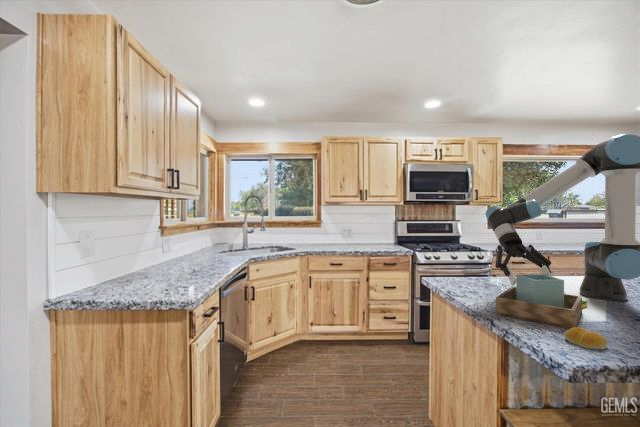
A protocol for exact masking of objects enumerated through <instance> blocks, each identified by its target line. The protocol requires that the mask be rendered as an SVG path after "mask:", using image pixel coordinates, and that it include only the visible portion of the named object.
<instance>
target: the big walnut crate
mask: <svg viewBox="0 0 640 427" xmlns="http://www.w3.org/2000/svg"><path fill="white" fill-rule="evenodd" d="M582 300H583V295H576V294H575V295H574V294H569V293H568V294H567V293H564V308H561V307H555V306H548V305H542V304H536V303H530V302H524V301H518V300H517V286H511V287H509V288H508V289H506V290H505V291H503V292H502V293H500V294H499V295H497V296H496V297H495V315H497V316H502V317H506V318H507V317H508V318H511V319H517V320H522V321H525V322H526V321H527V322H532V323H536V322H537V324H541V323H542V324H541V325H546V324H548V325H547V326H551V325H553V327H556V326H558V327H557V328H561V327H562V329H566V328H567V330H569V329H571V328H573V327H578V324H579V321H580V318H581V317H582V314H583V308H582Z"/></svg>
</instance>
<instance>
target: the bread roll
mask: <svg viewBox="0 0 640 427" xmlns="http://www.w3.org/2000/svg"><path fill="white" fill-rule="evenodd" d="M563 337H564V338H565V339H566V341H568V342H569V343H571V344H574V345H577V346H579V347H581V348H584V349H589V350H605V349H606V348H607V347H608V341H607V338H606V337H604V336H603V335H602V334H599V333H597V332H593V331H589V330H587V329H586V328H583V327H579V326H576V327H573V328H571V329H567V330H566V331H565V332H564V336H563Z"/></svg>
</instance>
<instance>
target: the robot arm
mask: <svg viewBox="0 0 640 427" xmlns="http://www.w3.org/2000/svg"><path fill="white" fill-rule="evenodd" d="M639 173H640V135H637V134H634V133H623V134H618V135H615V136H612V137H610V138H609V139H606V140H604V141H602V142H599V143H597V144H596V145H595V146H594V147H592V148H591V149H589V151H588V152H586V153H585V154H583V155H581V157H579V158H577V159H576V160H575V163H574V164H572V165H571V166H569V167H568V168H567V169H565V170H564V171H562V172H560V173H558V174H557V175H556V176H554V177H552V178H550V179H549V180H548V181H546V182H545V183H543V184H541V185H540V186H538V187H537V188H535V189H534V190H532V191H531V192H529V193H528V194H525V195H524V196H523V197H521V198H519V199H518V200H517V201H515V202H512V203H510V204H509V205H508V206H507V207H502V206H501V205H492V206H490V207H489V208H487V210H486V211H485V217H486V219H487V221H488V224H489V225H490V227H491V229H492V231H493V233H494V235H495V237H496V239H497V240H498V243H499V244H498V245H497V247H496V248H495V252H496V257H495V258H496V259H495V266H494V267H495V268H496V269H499V270H500V271H502V272H503V274H504V275H505V277H507V278H508V280H509V282H510V284H511V286H514V285H515V284H517V280H516V276H515V274H514V272H513V270H512V268H511V266H510V265H508V264H509V261H511V260H510V259H511V257H512V258H523V259H524V260H528V261H529V262H531V263H533V264H534V265H536V266H538V267H539V268H540V269H539V270H540V272H541V274H544V275H548V276H551V277H554V276H553V274H552V271H551V269H550V267H549V266H551V265H552V262H551V261H550V260H549V259H548V258H547V257H546V256H544V255H543V254H542V253H541V252H540V251H538V250H537V249H536V248H535V247H534V246H533V245H532V244H529V245H528V246H525V245H524V243H523V240H522V238H521V237H520V235H519V233H518V231H517V229H516V228H515V227H514V225H516V224H519V223H523V222H525V221H529V220H532V219H535V218H538V217H541V216H542V214H543V213H542V208H541V207H543V206H544V205H545V204H547V203H549V202H550V201H552V200H554V199H556V198H557V197H559V196H560V195H562V194H564V193H565V192H567V191H569V190H570V189H572V188H574V187H575V186H577V185H579V183H582V182H583V181H585V180H586V179H588V178H595V177H596V176H597V175H600V174H602V175H603V176H604V177H605V179H604V181H605V183H604V184H605V185H604V190H605V191H604V198H605V199H604V206H605V207H604V238H603V239H601V240H599V241H588V242H586V243H585V245H584V248H583V251H584V277H583V278H582V279H583V280H582V282H581V283H580V284H581V285H580V287H579V294H580V296H585V297H588V298H593V299H596V300H597V299H599V300H602V301H603V300H605V301H614V302H615V301H616V302H617V301H618V302H619V301H621V302H622V301H627V300H628V293H627V290H626V288H625V286H624V283H623V280H635V279H638V278H640V241H638V240H637V238H636V218H637V216H636V211H637V210H636V208H637V207H636V205H637V204H636V202H637V198H636V197H637V196H636V194H637V192H636V191H637V189H636V188H637V187H636V186H637V174H639ZM503 252H504V253H506V256H505V259H504V261H502V259H503Z"/></svg>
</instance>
